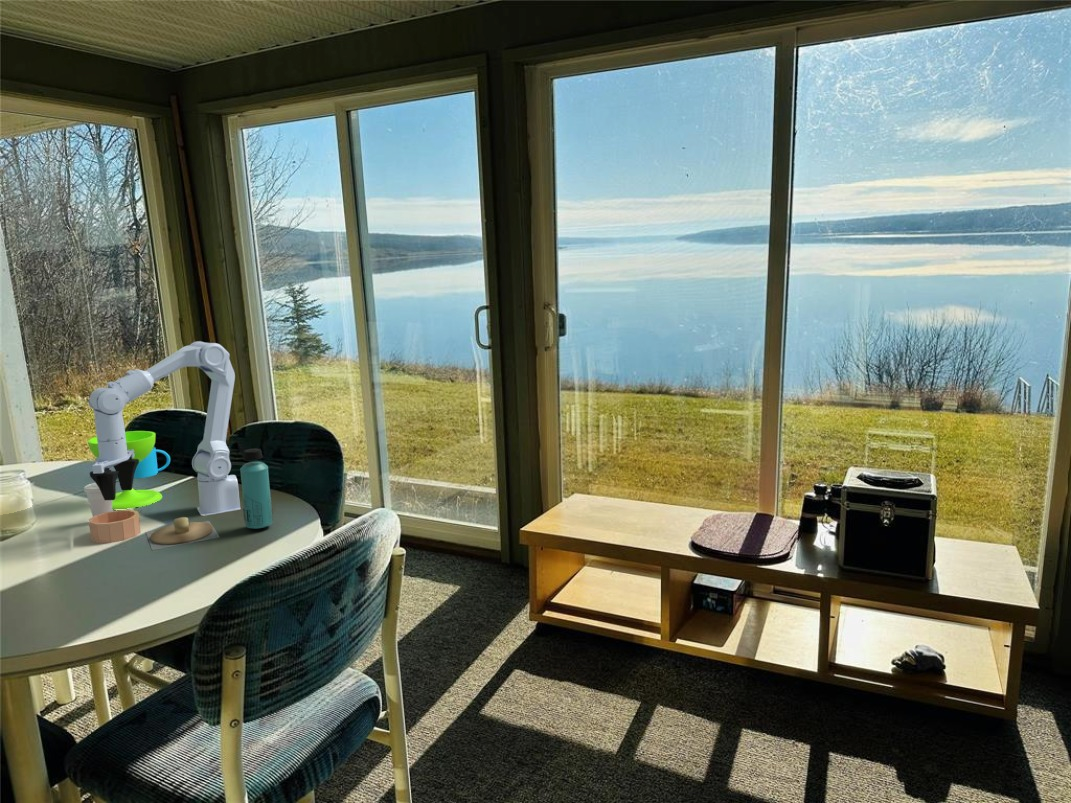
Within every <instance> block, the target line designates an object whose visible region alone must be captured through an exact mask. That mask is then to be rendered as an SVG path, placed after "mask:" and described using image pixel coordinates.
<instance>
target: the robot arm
mask: <svg viewBox="0 0 1071 803" xmlns="http://www.w3.org/2000/svg"><path fill="white" fill-rule="evenodd" d="M184 367H185V368H187V367H196V368H199V369H200V370H202V371H203V372H204V373H205V374H206V376H207V377H208V378H209V379H210V380H211V383H210V389H209V390H210V391H209V395H208V396H209V397H208V398H209V399H208V404H207V409H206V410H207V412H206V418H205V424H204V425H205V426H204V432H203V439H202V440H201V441H200V443H199V444H198V445H197V449H196V450H197V451H196V453H195V454H194V456H193V457H192V460H191V465H192V469H193V470H194V472H196V473H197V477H196V479H197V490H198V498H199V506H197V507H196V509H197V512H199V514H200V516H201V517H205V516H211V515H216V514H222V513H228V512H233V511H239V510H241V501H240V491H239V490H240V489H239V483H238V482H239V481H238V478H237V475H235V474H230V475H229V473H230V472H231V469H232V463H231V460H230V449H229V447H228V446H227V441H226V440H227V434H228V429H229V420H230V416H231V414H230V413H231V406H232V401H233V400H232V399H233V392H234V387H235V386H234V385H235V380H236V375H235V370H234V368H233V366H232V363H231V360H230V353H229V351H227V349H226V348H224V347H223V346H222V345H221V344H219V343H216V342H204V341H201V340H199V341H194V342H192V343H191V344H189V345H185V346H183V347H181V348H180V349H178V350H177V351H175V352H173V353H172V354H170V355H168V356H167V357H166V358H164V359H162V360H161V361H158V362H157V363H155V364H154V365H153V366H150V367H149V368H147V369H146V370H141V369H138V368H137V369H134V370H133V369H129V370H127V371H126V372H125V374H126V375H123V376H121V377H120V378H118V379H117V380H115V381H109V382H107V383H106V385H107V387H106V386H105V387H98V388H96V389H95V390H94V389H93V391H92V392H91V394H90V396H89V400H88V401H87V403H88V405H89V407H90V408H91V410H93V414H94V425H95V426H94V427H95V432H96V437H97V442H98V450H99V457H94V461H95V463H94V464H92V471H90V472H89V477H90V478H91V479H92V481H94V483H96V484H97V485H98V487H99V489H100V491H101V493H102V496H103V498H104V500H115V496H116V493H117V492H116V491H117V490H116V489H117V488H116V487H117V486H116V485H117V480H118V483H119V487H120V489H121V491H123V490H132V488H133V485H134V479H135V478H134V474H135V470H136V467H137V465H138V463H139V459H132V458H134V457H135V456H134V450H127V445H126V437H125V432H126V430H125V423H124V422H125V421H124V418H123V410H124V409H125V407H126V404H129V403H130V402H133V401H134V400H136V399H137V398H139V397H142V396H143V395H145V394H147V393H148V392H150V391H151V390H152V389H153V387H154V384H155V382H157V381H159V380H161V379H163V378H164V377H166V376H169V375H171V374H172V373H175V372H177V371H178V370H180V369H182V368H184ZM111 468H113V469H114V470H112V469H111Z"/></svg>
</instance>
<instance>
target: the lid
mask: <svg viewBox="0 0 1071 803" xmlns="http://www.w3.org/2000/svg"><path fill="white" fill-rule="evenodd" d="M203 522H204V521H190V522H189V517H187V516H181V517H176V518H175V519H173V524H171V525H168V526H164V527H161V528H159V529H156V530H157V531H155V530H154V531H155V532H154V533H153V534H152V535H151V541H152V542H153V543H156V544H161V545H176V544H183V543H189V542H193V541H196V540H200V539H202V538H205V537H207V536H208V535H210V534H211V533H212V531H213V529H212V526H213V525H212V526H211V525H210V524H208V523H203ZM189 544H190V543H189Z"/></svg>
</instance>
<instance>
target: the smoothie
mask: <svg viewBox="0 0 1071 803" xmlns="http://www.w3.org/2000/svg"><path fill="white" fill-rule="evenodd" d="M83 490H84V491H83V492H84V493H85V494H86V498H87V501H88V504H89V508H90V512H91V516H92V517H94V516H95V515H99V514H102V513H105V512H110V511H112V500H104V498H103V496H102V493H101V491H100V489H99V487H98V485H97V484H96V482H93V483H89V484H86V485H85V486H84V487H83Z"/></svg>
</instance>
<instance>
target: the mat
mask: <svg viewBox="0 0 1071 803" xmlns="http://www.w3.org/2000/svg"><path fill="white" fill-rule="evenodd" d="M202 522H203V523H208V524H210V525H211V526H212V529H213V531H212V533H211V534H210V535H208V536H207V537H205V538H202V539H200V540H196V541H193V542H189V543H183V544H176V545H161V544H156V543H153V542H152V541H151V535H152V534H153V533H154V532H155V531H157V530H158V529H156V530H151V531H145V534H146V537H147V540H148V543H149V545H150V548H151V551H158V550H159V551H160V550H163V549H169V548H172V547H173V548H174V547H178V546H179V547H180V546H183V545H188V544H195V543H199V542H203V541H210V540H214V539H220V538H221V537H220V535H219V533H218V532H217V530H216V528H215V527H214V526H213V524H212V523H211V521H210V520H206V521H205V520H204V521H202Z"/></svg>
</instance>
